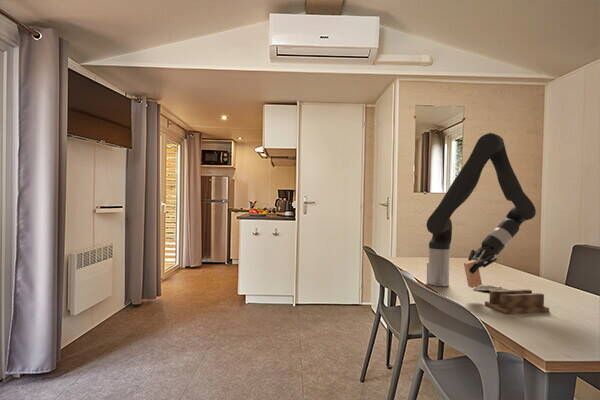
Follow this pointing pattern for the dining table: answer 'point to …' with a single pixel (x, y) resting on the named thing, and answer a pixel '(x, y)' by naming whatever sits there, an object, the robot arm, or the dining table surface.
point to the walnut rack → (517, 301)
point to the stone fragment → (489, 288)
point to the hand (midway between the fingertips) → (468, 271)
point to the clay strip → (472, 275)
